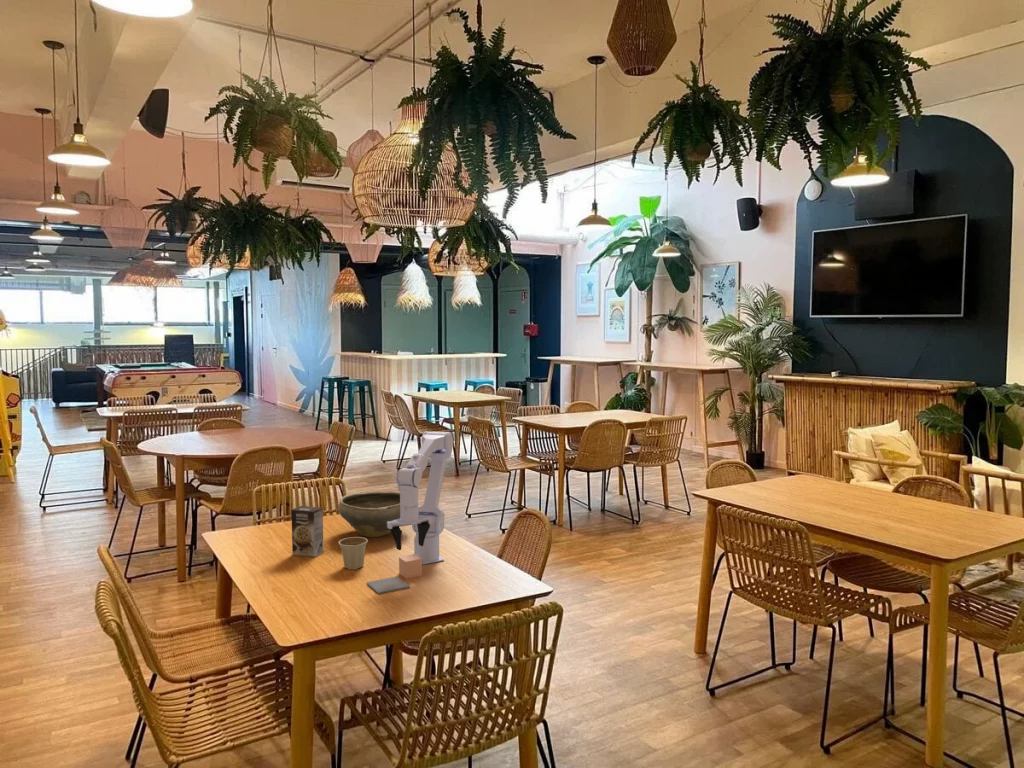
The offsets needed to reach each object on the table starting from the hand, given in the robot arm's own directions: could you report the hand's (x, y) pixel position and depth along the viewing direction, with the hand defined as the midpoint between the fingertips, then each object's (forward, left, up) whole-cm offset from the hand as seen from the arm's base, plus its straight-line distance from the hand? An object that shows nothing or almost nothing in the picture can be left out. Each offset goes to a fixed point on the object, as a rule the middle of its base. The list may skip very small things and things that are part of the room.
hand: (410, 547), depth 233 cm
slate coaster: (+6, -10, -9) cm, 15 cm away
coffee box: (-39, -22, -9) cm, 46 cm away
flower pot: (-17, -13, -9) cm, 23 cm away
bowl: (-50, +7, -9) cm, 51 cm away
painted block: (0, 0, -9) cm, 9 cm away
